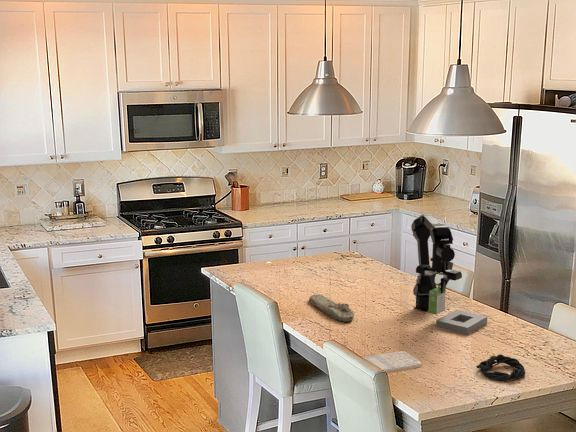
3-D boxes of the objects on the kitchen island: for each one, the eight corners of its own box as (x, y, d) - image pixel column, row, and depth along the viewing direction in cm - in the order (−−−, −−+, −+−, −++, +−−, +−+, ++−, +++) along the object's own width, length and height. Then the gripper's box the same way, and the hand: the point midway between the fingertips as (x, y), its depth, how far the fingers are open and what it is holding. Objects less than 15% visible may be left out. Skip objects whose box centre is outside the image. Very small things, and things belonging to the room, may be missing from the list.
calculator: (423, 367, 263) (423, 362, 263) (373, 375, 256) (373, 370, 256) (404, 354, 275) (404, 349, 275) (355, 362, 268) (356, 357, 268)
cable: (506, 362, 268) (507, 350, 267) (537, 375, 256) (537, 363, 255) (471, 371, 260) (472, 359, 259) (501, 385, 248) (501, 373, 247)
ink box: (436, 309, 312) (438, 278, 310) (445, 311, 310) (446, 280, 307) (428, 313, 307) (429, 281, 305) (436, 315, 305) (438, 283, 302)
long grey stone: (323, 301, 342) (303, 305, 338) (322, 290, 341) (303, 294, 337) (360, 320, 310) (339, 325, 306) (360, 308, 309) (339, 312, 305)
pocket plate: (435, 327, 303) (436, 320, 303) (456, 316, 317) (456, 309, 316) (467, 335, 294) (467, 327, 294) (486, 323, 308) (487, 316, 307)
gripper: (469, 255, 304) (467, 292, 307) (429, 248, 316) (428, 283, 319) (456, 260, 296) (454, 298, 299) (415, 253, 308) (414, 289, 311)
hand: (437, 292), depth 307 cm, fingers closed on ink box, 4 cm apart
